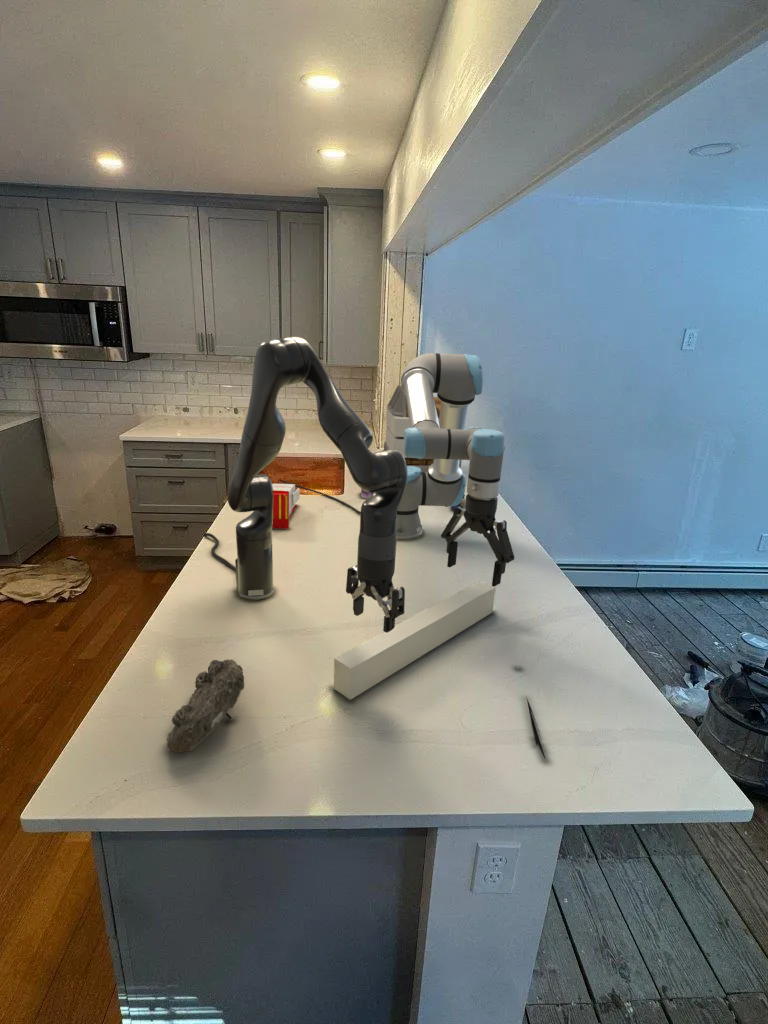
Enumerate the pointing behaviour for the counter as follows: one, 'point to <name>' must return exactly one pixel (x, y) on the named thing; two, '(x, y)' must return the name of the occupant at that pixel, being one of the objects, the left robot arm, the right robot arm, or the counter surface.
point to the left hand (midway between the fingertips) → (373, 622)
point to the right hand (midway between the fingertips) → (473, 574)
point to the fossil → (206, 705)
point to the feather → (535, 728)
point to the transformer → (402, 426)
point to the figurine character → (460, 503)
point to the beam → (410, 639)
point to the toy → (284, 504)
